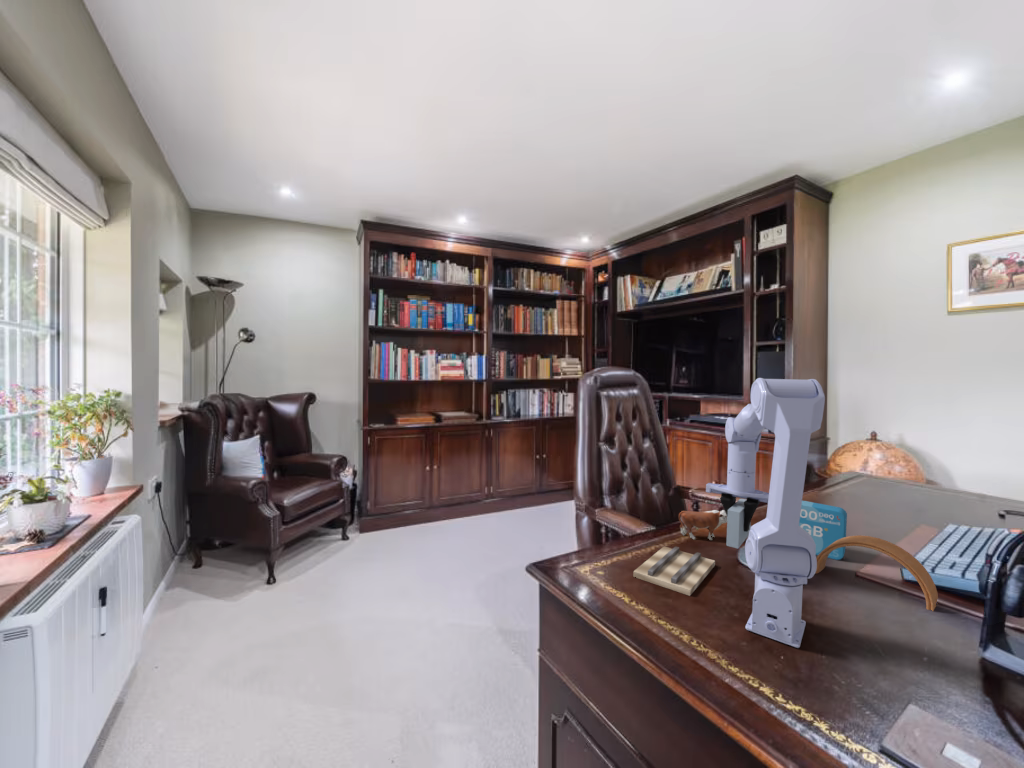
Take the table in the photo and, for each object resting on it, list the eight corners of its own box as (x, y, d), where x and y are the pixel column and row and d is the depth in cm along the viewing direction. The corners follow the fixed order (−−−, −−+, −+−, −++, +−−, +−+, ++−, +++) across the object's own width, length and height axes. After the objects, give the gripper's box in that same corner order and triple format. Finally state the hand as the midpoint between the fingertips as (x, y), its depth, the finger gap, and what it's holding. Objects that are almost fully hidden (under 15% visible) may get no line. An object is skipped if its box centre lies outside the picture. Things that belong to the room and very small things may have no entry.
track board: (689, 595, 87) (690, 585, 87) (633, 576, 95) (633, 566, 94) (714, 565, 101) (715, 556, 101) (663, 551, 108) (663, 542, 108)
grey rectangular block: (738, 548, 95) (739, 512, 95) (726, 545, 96) (727, 510, 96) (750, 533, 104) (751, 500, 104) (739, 530, 106) (740, 498, 105)
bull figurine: (732, 543, 114) (733, 513, 114) (678, 538, 117) (679, 508, 116) (728, 537, 118) (729, 507, 118) (676, 532, 121) (677, 503, 121)
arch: (820, 565, 102) (822, 524, 102) (938, 602, 86) (941, 553, 86) (811, 572, 99) (813, 529, 98) (933, 612, 83) (935, 561, 82)
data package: (785, 547, 112) (787, 501, 112) (788, 542, 116) (790, 498, 115) (843, 561, 104) (845, 512, 104) (845, 556, 108) (847, 508, 107)
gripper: (780, 472, 98) (778, 531, 98) (712, 462, 107) (710, 517, 108) (775, 478, 93) (772, 540, 93) (704, 467, 102) (702, 524, 102)
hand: (739, 528), depth 100 cm, fingers closed on grey rectangular block, 2 cm apart
